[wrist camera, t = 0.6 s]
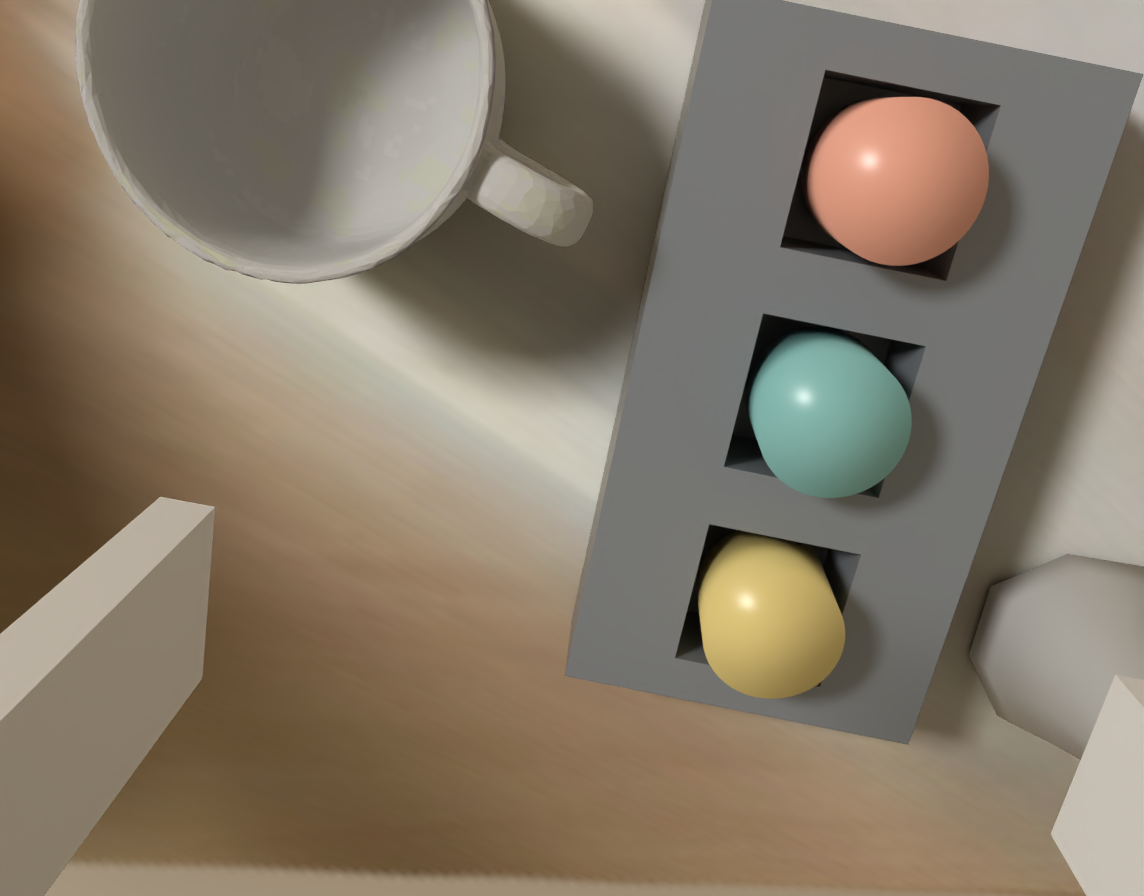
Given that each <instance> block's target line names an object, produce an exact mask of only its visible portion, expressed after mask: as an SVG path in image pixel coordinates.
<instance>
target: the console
mask: <svg viewBox="0 0 1144 896" xmlns="http://www.w3.org/2000/svg"><path fill="white" fill-rule="evenodd" d="M1142 77H1143V74H1140V73H1135V72H1130V71H1125V70H1120V69H1115V68H1111V67H1106V66H1101V65H1096V64H1091V63H1086V62H1081V61H1076V60H1071V59H1066V58H1061V57H1057V56H1052V55H1047V54H1042V53H1037V52H1032V51H1027V50H1022V49H1017V48H1012V47H1008V46H1003V45H998V44H993V43H988V42H983V41H978V40H973V39H968V38H963V37H958V36H954V35H949V34H944V33H939V32H934V31H929V30H924V29H919V28H914V27H909V26H905V25H900V24H895V23H890V22H885V21H880V20H875V19H870V18H865V17H860V16H855V15H851V14H846V13H841V12H836V11H831V10H826V9H821V8H816V7H811V6H806V5H802V4H797V3H792V2H787V1H782V0H706V1H705V5H704V10H703V15H702V19H701V24H700V29H699V33H698V38H697V42H696V47H695V52H694V56H693V61H692V66H691V70H690V75H689V80H688V84H687V89H686V93H685V98H684V103H683V107H682V112H681V117H680V121H679V126H678V131H677V135H676V140H675V144H674V149H673V154H672V158H671V163H670V168H669V172H668V177H667V182H666V186H665V191H664V196H663V200H662V205H661V209H660V214H659V219H658V223H657V228H656V233H655V237H654V242H653V247H652V251H651V256H650V260H649V265H648V270H647V274H646V279H645V284H644V288H643V293H642V298H641V302H640V307H639V311H638V316H637V321H636V325H635V330H634V335H633V339H632V344H631V349H630V353H629V358H628V362H627V367H626V372H625V376H624V381H623V386H622V390H621V395H620V400H619V404H618V409H617V414H616V418H615V423H614V427H613V432H612V437H611V441H610V446H609V451H608V455H607V460H606V465H605V469H604V474H603V478H602V483H601V488H600V492H599V497H598V502H597V506H596V511H595V516H594V520H593V525H592V529H591V534H590V539H589V543H588V548H587V553H586V557H585V562H584V567H583V571H582V576H581V580H580V585H579V590H578V594H577V599H576V604H575V608H574V613H573V618H572V624H571V632H570V640H569V648H568V656H567V664H566V672H565V676H568V677H573V678H578V679H583V680H588V681H593V682H598V683H603V684H608V685H613V686H618V687H623V688H628V689H633V690H638V691H643V692H648V693H653V694H658V695H663V696H668V697H673V698H678V699H683V700H688V701H693V702H698V703H703V704H708V705H713V706H718V707H723V708H728V709H733V710H738V711H743V712H748V713H753V714H758V715H763V716H768V717H773V718H778V719H783V720H788V721H793V722H798V723H803V724H808V725H813V726H818V727H823V728H828V729H833V730H838V731H843V732H848V733H853V734H858V735H863V736H868V737H873V738H878V739H883V740H888V741H893V742H898V743H903V744H909V741H910V738H911V736H912V733H913V730H914V727H915V724H916V721H917V718H918V716H919V713H920V710H921V707H922V704H923V701H924V698H925V696H926V693H927V690H928V687H929V684H930V681H931V679H932V676H933V673H934V670H935V667H936V664H937V661H938V659H939V656H940V653H941V650H942V647H943V644H944V641H945V639H946V636H947V633H948V630H949V627H950V624H951V621H952V619H953V616H954V613H955V610H956V607H957V604H958V601H959V599H960V596H961V593H962V590H963V587H964V584H965V582H966V579H967V576H968V573H969V570H970V567H971V564H972V562H973V559H974V556H975V553H976V550H977V547H978V544H979V542H980V539H981V536H982V533H983V530H984V527H985V524H986V522H987V519H988V516H989V513H990V510H991V507H992V504H993V502H994V499H995V496H996V493H997V490H998V487H999V485H1000V482H1001V479H1002V476H1003V473H1004V470H1005V467H1006V465H1007V462H1008V459H1009V456H1010V453H1011V450H1012V447H1013V445H1014V442H1015V439H1016V436H1017V433H1018V430H1019V427H1020V425H1021V422H1022V419H1023V416H1024V413H1025V410H1026V407H1027V405H1028V402H1029V399H1030V396H1031V393H1032V390H1033V388H1034V385H1035V382H1036V379H1037V376H1038V373H1039V370H1040V368H1041V365H1042V362H1043V359H1044V356H1045V353H1046V350H1047V348H1048V345H1049V342H1050V339H1051V336H1052V333H1053V330H1054V328H1055V325H1056V322H1057V319H1058V316H1059V313H1060V310H1061V308H1062V305H1063V302H1064V299H1065V296H1066V293H1067V290H1068V288H1069V285H1070V282H1071V279H1072V276H1073V273H1074V271H1075V268H1076V265H1077V262H1078V259H1079V256H1080V253H1081V251H1082V248H1083V245H1084V242H1085V239H1086V236H1087V233H1088V231H1089V228H1090V225H1091V222H1092V219H1093V216H1094V213H1095V211H1096V208H1097V205H1098V202H1099V199H1100V196H1101V193H1102V191H1103V188H1104V185H1105V182H1106V179H1107V176H1108V174H1109V171H1110V168H1111V165H1112V162H1113V159H1114V156H1115V154H1116V151H1117V148H1118V145H1119V142H1120V139H1121V136H1122V134H1123V131H1124V128H1125V125H1126V122H1127V119H1128V116H1129V114H1130V111H1131V108H1132V105H1133V102H1134V99H1135V96H1136V94H1137V91H1138V88H1139V85H1140V82H1141V79H1142ZM884 97H923V98H930V99H934V100H937V101H940V102H943V103H945V104H947V105H949V106H951V107H953V108H954V109H956V110H957V111H959V112H960V113H961V114H963V115H964V116H965V117H966V118H967V119H968V120H969V121H970V122H971V124H972V125H973V126H974V127H975V129H976V130H977V132H978V133H979V135H980V137H981V139H982V142H983V144H984V146H985V150H986V153H987V158H988V164H989V182H988V189H987V193H986V197H985V201H984V203H983V206H982V209H981V211H980V213H979V215H978V217H977V219H976V220H975V222H974V223H973V225H972V226H971V228H970V229H969V230H968V231H967V233H966V234H965V235H964V236H963V237H962V238H961V239H960V240H959V241H958V242H957V243H956V244H954V245H953V246H952V247H951V248H949V249H948V250H946V251H945V252H943V253H941V254H940V255H938V256H936V257H934V258H931V259H929V260H926V261H924V262H920V263H916V264H911V265H903V266H891V265H884V264H879V263H875V262H872V261H869V260H867V259H864V258H862V257H860V256H859V255H857V254H855V253H854V252H852V251H851V250H849V249H848V248H846V247H845V246H843V245H842V244H840V243H839V242H838V241H836V240H835V239H833V238H832V237H830V236H829V235H828V234H826V233H825V232H824V231H823V230H822V229H821V228H820V227H819V226H818V225H817V224H816V223H815V221H814V220H813V218H812V217H811V216H810V214H809V212H808V210H807V208H806V205H805V202H804V199H803V195H802V190H801V169H802V164H803V159H804V156H805V153H806V150H807V148H808V146H809V143H810V141H811V140H812V138H813V136H814V135H815V133H816V132H817V131H818V129H819V128H820V127H821V126H822V124H823V123H824V122H825V121H826V120H827V119H829V118H830V117H831V116H832V115H833V114H835V113H836V112H837V111H839V110H841V109H842V108H844V107H846V106H848V105H850V104H852V103H855V102H857V101H861V100H865V99H870V98H884ZM806 327H829V328H834V329H838V330H841V331H844V332H846V333H848V334H850V335H852V336H853V337H855V338H857V339H858V340H859V341H860V342H862V343H863V344H864V345H865V346H866V347H867V348H868V349H869V350H870V351H871V352H872V354H873V355H874V356H875V357H876V358H877V359H878V360H879V361H880V362H881V363H882V364H883V365H884V366H885V367H886V368H887V369H888V370H889V372H890V373H891V374H892V375H893V376H894V377H895V378H896V379H897V380H898V382H899V383H900V384H901V386H902V387H903V389H904V391H905V393H906V395H907V398H908V401H909V404H910V409H911V418H912V426H911V434H910V438H909V442H908V445H907V447H906V450H905V452H904V454H903V456H902V458H901V459H900V461H899V462H898V464H897V465H896V466H895V468H894V469H893V470H892V471H891V472H890V473H889V474H888V475H887V476H886V477H885V478H884V479H883V480H881V481H880V482H879V483H877V484H876V485H874V486H872V487H871V488H869V489H867V490H865V491H863V492H860V493H857V494H854V495H850V496H846V497H839V498H821V497H814V496H810V495H806V494H803V493H801V492H798V491H796V490H794V489H792V488H791V487H789V486H787V485H786V484H785V483H783V482H782V481H781V480H780V479H779V478H778V477H777V476H776V475H775V474H774V473H773V472H772V471H771V469H770V468H769V467H768V465H767V463H766V461H765V459H764V457H763V455H762V452H761V450H760V447H759V444H758V441H757V439H756V436H755V433H754V430H753V427H752V425H751V422H750V419H749V416H748V414H747V409H746V404H745V387H746V382H747V378H748V375H749V372H750V370H751V368H752V366H753V364H754V362H755V361H756V359H757V357H758V356H759V355H760V354H761V352H762V351H763V350H764V349H765V348H766V347H767V346H768V345H769V344H770V343H772V342H773V341H775V340H776V339H777V338H779V337H781V336H783V335H784V334H786V333H789V332H791V331H794V330H797V329H801V328H806ZM737 530H741V531H746V532H751V533H756V534H761V535H766V536H771V537H776V538H781V539H786V540H790V541H795V542H800V543H805V544H809V545H810V546H811V547H812V549H813V550H814V551H815V553H816V554H817V556H818V558H819V560H820V562H821V564H822V567H823V569H824V572H825V574H826V577H827V579H828V582H829V584H830V587H831V589H832V592H833V594H834V597H835V599H836V602H837V604H838V607H839V609H840V612H841V614H842V617H843V621H844V625H845V643H844V648H843V652H842V654H841V657H840V659H839V661H838V663H837V664H836V666H835V668H834V669H833V670H832V671H831V673H830V674H829V675H828V676H827V677H826V678H825V679H824V680H823V681H821V682H820V683H819V684H818V685H816V686H814V687H813V688H811V689H810V690H807V691H805V692H803V693H801V694H798V695H795V696H791V697H786V698H778V699H765V698H757V697H753V696H749V695H746V694H744V693H741V692H739V691H737V690H735V689H733V688H731V687H730V686H729V685H727V684H726V683H724V682H723V681H722V680H721V679H720V678H719V677H718V676H717V675H716V673H715V672H714V671H713V669H712V668H711V666H710V665H709V663H708V660H707V658H706V656H705V652H704V648H703V640H702V632H701V624H700V616H699V608H698V600H697V592H696V579H697V573H698V570H699V567H700V564H701V562H702V560H703V558H704V557H705V555H706V554H707V552H708V551H709V550H710V549H711V548H712V546H713V545H715V544H716V543H717V542H718V541H719V540H721V539H722V538H724V537H725V536H727V535H728V534H730V533H733V532H735V531H737Z"/></svg>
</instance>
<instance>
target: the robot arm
mask: <svg viewBox="0 0 1144 896" xmlns="http://www.w3.org/2000/svg"><path fill="white" fill-rule="evenodd" d="M214 516H215V507H213V506H208V505H202V504H197V503H191V502H186V501H181V500H175V499H170V498H165V497H159V498H158V499H157V500H156V501H155V502H154V503H152V504H151V505H150V506H149V507H148V508H147V509H145V510H144V511H143V512H142V513H141V514H140V515H138V516H137V517H136V518H135V519H134V520H133V521H131V522H130V523H129V524H128V525H127V526H126V527H124V528H123V529H122V530H121V531H120V532H119V533H117V534H116V535H115V536H114V537H113V538H112V539H110V540H109V541H108V542H107V543H106V544H105V545H103V546H102V547H101V548H100V549H99V550H98V551H96V552H95V553H94V554H93V555H92V556H91V557H89V558H88V559H87V560H86V561H85V562H84V563H82V564H81V565H80V566H79V567H78V568H77V569H75V570H74V571H73V572H72V573H71V574H70V575H68V576H67V577H66V578H65V579H64V580H63V581H61V582H60V583H59V584H58V585H57V586H56V587H54V588H53V589H52V590H51V591H50V592H49V593H47V594H46V595H45V596H44V597H43V598H42V599H40V600H39V601H38V602H37V603H36V604H35V605H33V606H32V607H31V608H30V609H29V610H28V611H26V612H25V613H24V614H23V615H22V616H20V617H19V618H18V619H17V620H16V621H15V622H13V623H12V624H11V625H10V626H9V627H8V628H6V629H5V630H4V631H3V632H2V633H1V634H0V896H44V895H45V894H46V892H47V891H48V890H49V888H50V887H51V885H52V884H53V883H54V881H55V880H56V879H57V877H58V876H59V874H60V873H61V872H62V870H63V869H64V868H65V866H66V865H67V863H68V862H69V861H70V859H71V858H72V857H73V855H74V854H75V853H76V851H77V850H78V848H79V847H80V846H81V844H82V843H83V842H84V840H85V839H86V837H87V836H88V835H89V833H90V832H91V831H92V829H93V828H94V826H95V825H96V824H97V822H98V821H99V820H100V818H101V817H102V815H103V814H104V813H105V811H106V810H107V809H108V807H109V806H110V804H111V803H112V802H113V800H114V799H115V798H116V796H117V795H118V793H119V792H120V791H121V789H122V788H123V787H124V785H125V784H126V782H127V781H128V780H129V778H130V777H131V776H132V774H133V773H134V771H135V770H136V769H137V767H138V766H139V765H140V763H141V762H142V761H143V759H144V758H145V756H146V755H147V754H148V752H149V751H150V750H151V748H152V747H153V745H154V744H155V743H156V741H157V740H158V739H159V737H160V736H161V734H162V733H163V732H164V730H165V729H166V728H167V726H168V725H169V723H170V722H171V721H172V719H173V718H174V717H175V715H176V714H177V712H178V711H179V710H180V708H181V707H182V706H183V704H184V703H185V701H186V700H187V699H188V697H189V696H190V695H191V693H192V692H193V690H194V689H195V688H196V686H197V685H198V684H199V682H200V681H201V679H202V677H203V663H204V650H205V637H206V623H207V610H208V596H209V583H210V570H211V556H212V543H213V529H214ZM1051 836H1052V838H1053V839H1054V841H1055V843H1056V844H1057V846H1058V848H1059V850H1060V851H1061V853H1062V855H1063V856H1064V858H1065V860H1066V862H1067V863H1068V865H1069V867H1070V868H1071V870H1072V872H1073V874H1074V875H1075V877H1076V879H1077V880H1078V882H1079V884H1080V886H1081V887H1082V889H1083V891H1084V892H1085V894H1086V896H1144V680H1142V679H1137V678H1131V677H1126V676H1120V675H1115V677H1114V679H1113V682H1112V684H1111V686H1110V689H1109V691H1108V694H1107V696H1106V699H1105V701H1104V704H1103V706H1102V709H1101V711H1100V714H1099V716H1098V719H1097V721H1096V724H1095V726H1094V728H1093V731H1092V733H1091V736H1090V738H1089V741H1088V743H1087V746H1086V748H1085V751H1084V753H1083V756H1082V758H1081V761H1080V763H1079V765H1078V768H1077V770H1076V773H1075V775H1074V778H1073V780H1072V783H1071V785H1070V788H1069V790H1068V793H1067V795H1066V798H1065V800H1064V803H1063V805H1062V807H1061V810H1060V812H1059V815H1058V817H1057V820H1056V822H1055V825H1054V827H1053V830H1052V832H1051Z"/></svg>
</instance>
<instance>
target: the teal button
mask: <svg viewBox="0 0 1144 896" xmlns="http://www.w3.org/2000/svg"><path fill="white" fill-rule="evenodd" d="M745 404H746V409H747V414H748V416H749V419H750V422H751V425H752V427H753V430H754V433H755V436H756V439H757V441H758V444H759V447H760V450H761V452H762V455H763V457H764V459H765V461H766V463H767V465H768V467H769V468H770V469H771V471H772V472H773V473H774V474H775V475H776V476H777V477H778V478H779V479H780V480H781V481H782V482H783V483H785V484H786V485H787V486H789V487H791V488H792V489H794V490H796V491H798V492H801V493H803V494H806V495H810V496H814V497H821V498H839V497H846V496H850V495H854V494H857V493H860V492H863V491H865V490H867V489H869V488H871V487H872V486H874V485H876V484H877V483H879V482H880V481H881V480H883V479H884V478H885V477H886V476H887V475H888V474H889V473H890V472H891V471H892V470H893V469H894V468H895V466H896V465H897V464H898V462H899V461H900V459H901V458H902V456H903V454H904V452H905V450H906V447H907V445H908V442H909V438H910V434H911V426H912V418H911V409H910V404H909V401H908V398H907V395H906V393H905V391H904V389H903V387H902V386H901V384H900V383H899V382H898V380H897V379H896V378H895V377H894V376H893V375H892V374H891V373H890V372H889V370H888V369H887V368H886V367H885V366H884V365H883V364H882V363H881V362H880V361H879V360H878V359H877V358H876V357H875V356H874V355H873V354H872V352H871V351H870V350H869V349H868V348H867V347H866V346H865V345H864V344H863V343H862V342H860V341H859V340H858V339H857V338H855V337H853V336H852V335H850V334H848V333H846V332H844V331H841V330H838V329H834V328H829V327H806V328H801V329H797V330H794V331H791V332H789V333H786V334H784V335H783V336H781V337H779V338H777V339H776V340H775V341H773V342H772V343H770V344H769V345H768V346H767V347H766V348H765V349H764V350H763V351H762V352H761V354H760V355H759V356H758V357H757V359H756V361H755V362H754V364H753V366H752V368H751V370H750V372H749V375H748V378H747V382H746V387H745Z"/></svg>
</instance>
